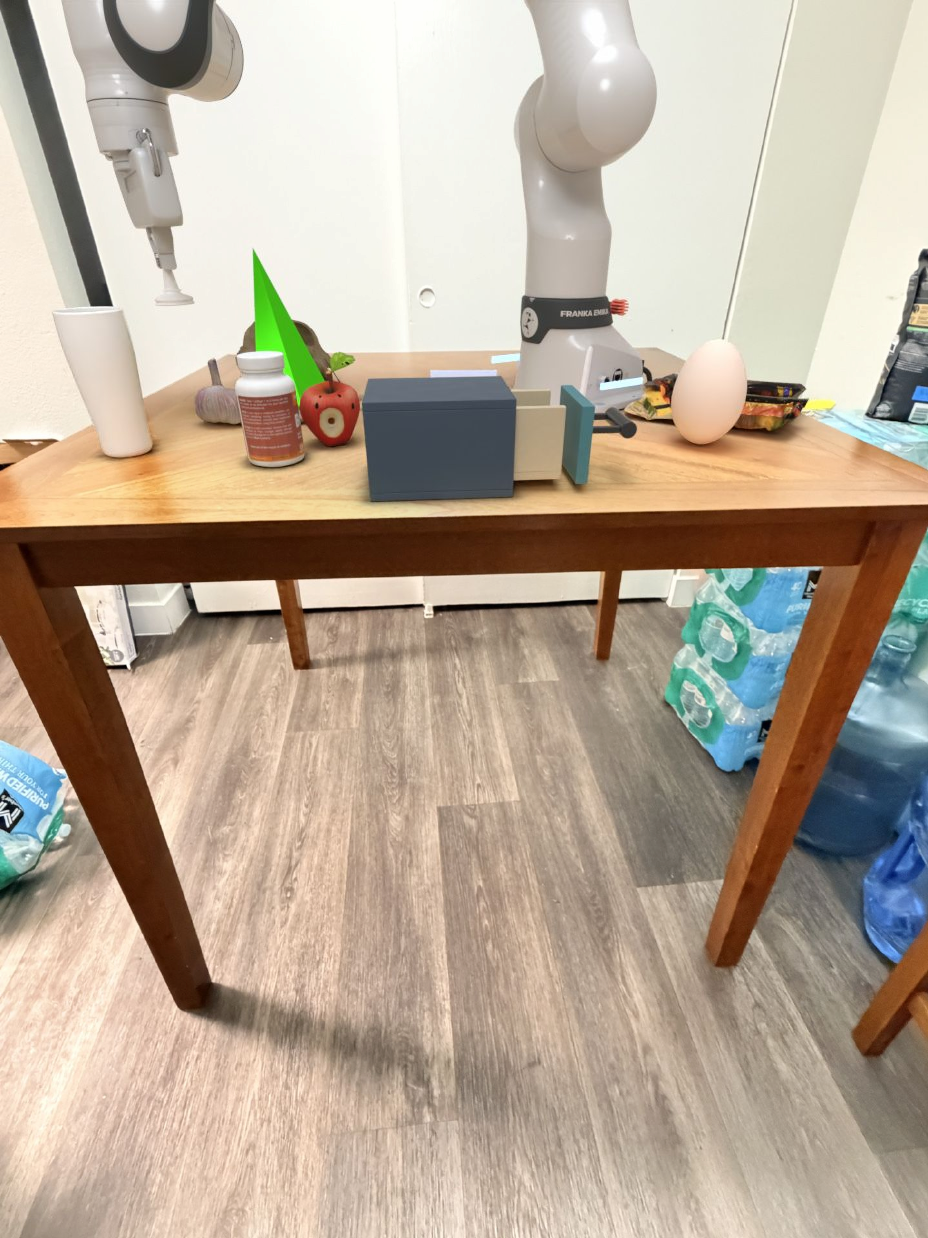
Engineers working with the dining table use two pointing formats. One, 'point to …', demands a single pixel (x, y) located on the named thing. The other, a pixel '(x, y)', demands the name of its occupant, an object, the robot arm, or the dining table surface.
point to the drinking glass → (106, 376)
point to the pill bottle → (268, 410)
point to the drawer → (559, 433)
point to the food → (761, 408)
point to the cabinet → (439, 438)
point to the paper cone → (281, 333)
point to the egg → (709, 392)
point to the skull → (307, 337)
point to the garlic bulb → (217, 400)
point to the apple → (331, 406)
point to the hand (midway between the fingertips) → (167, 269)
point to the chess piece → (171, 290)
